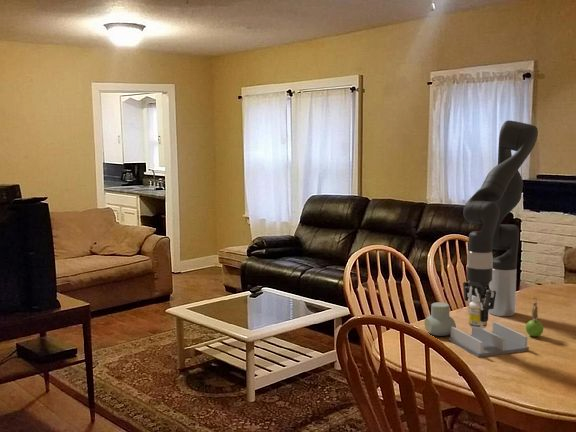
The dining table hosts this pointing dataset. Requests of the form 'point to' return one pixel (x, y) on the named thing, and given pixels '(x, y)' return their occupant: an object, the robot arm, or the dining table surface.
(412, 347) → the dining table surface
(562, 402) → the dining table surface
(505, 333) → the gray divided storage rack
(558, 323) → the dining table surface
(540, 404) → the dining table surface
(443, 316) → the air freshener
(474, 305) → the supplement bottle
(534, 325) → the snail figurine
